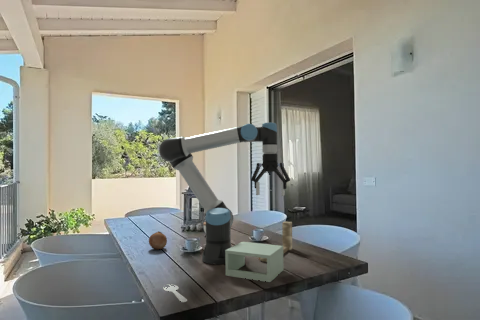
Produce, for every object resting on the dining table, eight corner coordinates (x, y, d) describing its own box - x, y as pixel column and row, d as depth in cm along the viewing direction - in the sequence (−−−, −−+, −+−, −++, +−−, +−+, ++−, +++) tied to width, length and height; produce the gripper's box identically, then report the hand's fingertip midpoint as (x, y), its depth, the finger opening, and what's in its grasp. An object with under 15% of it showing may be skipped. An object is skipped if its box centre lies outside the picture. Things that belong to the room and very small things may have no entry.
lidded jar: (217, 237, 207) (217, 221, 207) (201, 236, 209) (200, 221, 209) (222, 233, 218) (222, 218, 218) (206, 232, 220) (206, 218, 220)
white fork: (177, 304, 111) (177, 302, 111) (160, 287, 126) (160, 285, 126) (192, 300, 114) (192, 299, 114) (174, 284, 129) (174, 282, 129)
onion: (158, 252, 184) (160, 234, 189) (169, 250, 179) (171, 231, 183) (143, 249, 177) (146, 230, 182) (155, 247, 172) (157, 228, 177)
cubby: (225, 275, 138) (225, 250, 138) (242, 264, 152) (242, 241, 152) (270, 282, 129) (269, 255, 129) (283, 269, 144) (283, 245, 144)
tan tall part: (260, 261, 157) (259, 230, 157) (279, 247, 181) (279, 221, 181) (274, 262, 154) (274, 231, 154) (292, 248, 178) (292, 221, 178)
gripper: (296, 153, 170) (296, 195, 170) (250, 153, 181) (250, 193, 181) (291, 152, 163) (292, 197, 163) (244, 153, 174) (244, 195, 174)
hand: (270, 195), depth 172 cm, fingers open, 13 cm apart
